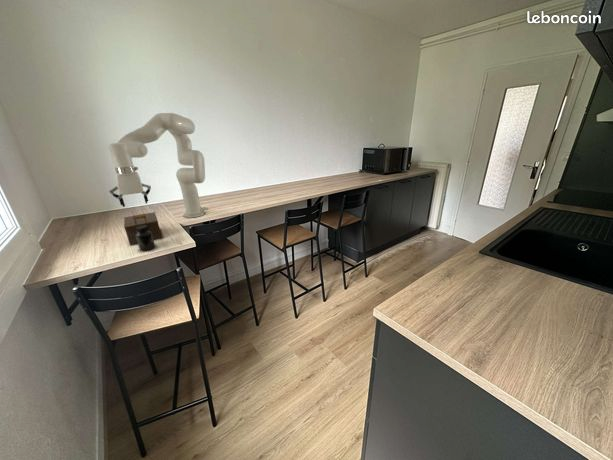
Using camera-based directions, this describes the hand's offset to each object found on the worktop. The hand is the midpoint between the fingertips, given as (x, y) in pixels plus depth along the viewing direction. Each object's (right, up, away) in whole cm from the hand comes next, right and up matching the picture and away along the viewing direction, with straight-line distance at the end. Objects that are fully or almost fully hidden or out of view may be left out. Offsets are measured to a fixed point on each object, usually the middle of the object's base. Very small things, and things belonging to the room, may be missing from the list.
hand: (135, 204), depth 127 cm
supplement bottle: (+6, -23, 0) cm, 23 cm away
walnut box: (-3, -17, +13) cm, 22 cm away
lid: (-3, -8, +9) cm, 12 cm away
